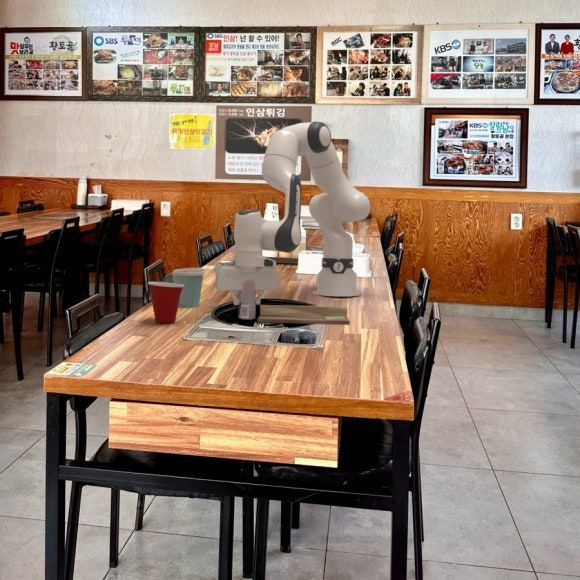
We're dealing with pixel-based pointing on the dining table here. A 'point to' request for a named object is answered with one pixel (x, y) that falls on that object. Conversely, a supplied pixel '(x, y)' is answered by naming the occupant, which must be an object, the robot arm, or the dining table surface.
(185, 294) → the disposable coffee cup
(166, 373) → the dining table surface
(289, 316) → the walnut board
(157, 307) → the plastic cup
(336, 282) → the robot arm
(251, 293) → the energy drink
